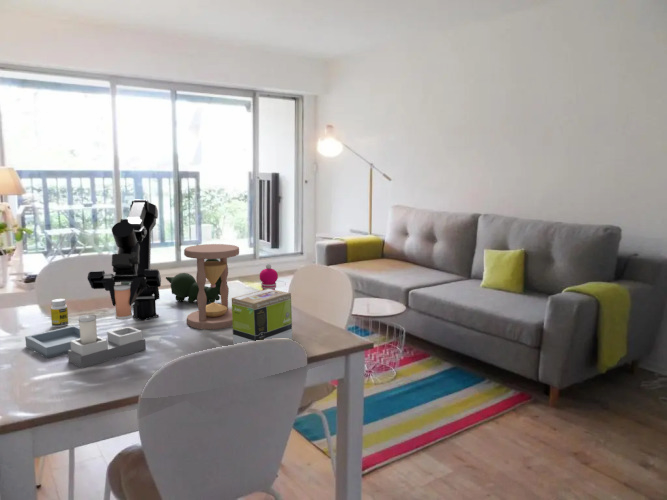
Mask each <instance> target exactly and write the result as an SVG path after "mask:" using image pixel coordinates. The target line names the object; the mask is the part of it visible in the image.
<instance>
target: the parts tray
mask: <svg viewBox="0 0 667 500" xmlns="http://www.w3.org/2000/svg"><path fill="white" fill-rule="evenodd" d="M97 336H99V335H98V334H97ZM24 338H25V347H26V348H28V349H29V350H31V351H33V352H35V353H36V354H38V355H41V357H43V358H45V359H51V358H54V357H57V356H61V355H65V354H68V350H71V342H70V341H72V340H76V339H80V328H79V325H71V326H64V327H60V328H57V329H54V330H48V331H45V332H40V333H34V334H29V335H27V336H25V337H24Z"/></svg>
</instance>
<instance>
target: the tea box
mask: <svg viewBox="0 0 667 500" xmlns="http://www.w3.org/2000/svg"><path fill="white" fill-rule="evenodd" d="M231 309H232V321H233V326H232V343H233V345H234V344H237V343H242V342H248V341H256V340H264V339H272V338H289V339H292V340H293V317H292V316H293V315H292V311H293V310H292V293H291V292H286V291H280V290H277V289H275V290H272V289H265V290H263V289H260V290H258V291H254V292H250V293H246V294H241V295H239V296H235V297H231Z"/></svg>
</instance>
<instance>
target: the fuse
mask: <svg viewBox="0 0 667 500" xmlns="http://www.w3.org/2000/svg"><path fill="white" fill-rule="evenodd" d="M77 319H78V327H79V328H80V342H81V344H83V345H86V344H90V343H94V342H97V335H98V334H97V333H98V331H97V315H96V314H83V315H80V316H78V318H77Z"/></svg>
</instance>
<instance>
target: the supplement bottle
mask: <svg viewBox="0 0 667 500" xmlns="http://www.w3.org/2000/svg"><path fill="white" fill-rule="evenodd" d="M68 311H69V310H68V306H67V301H66V299H65V298H56V299H52V300H51V307H50V316H51V318H50V319H51V326H52V327H53V328H65V327H67V326H68V325H69V313H68Z"/></svg>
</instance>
